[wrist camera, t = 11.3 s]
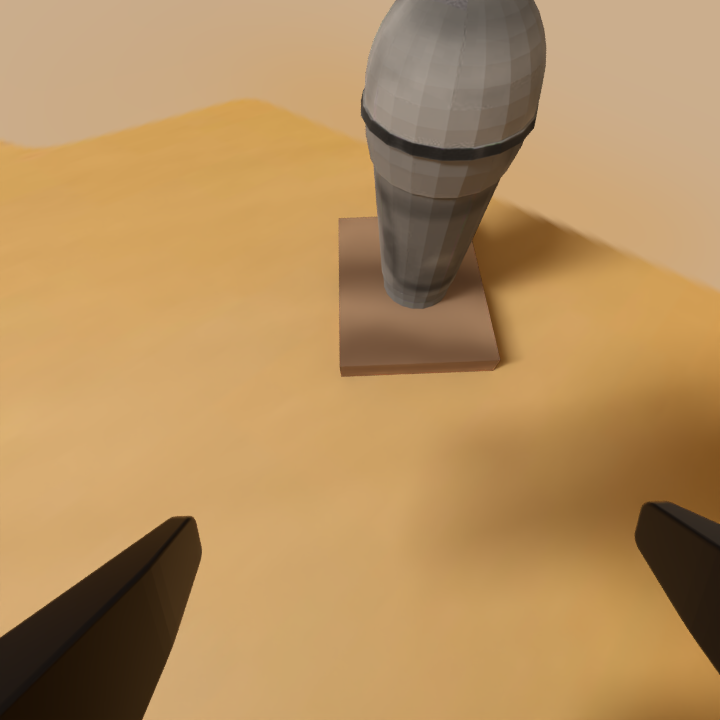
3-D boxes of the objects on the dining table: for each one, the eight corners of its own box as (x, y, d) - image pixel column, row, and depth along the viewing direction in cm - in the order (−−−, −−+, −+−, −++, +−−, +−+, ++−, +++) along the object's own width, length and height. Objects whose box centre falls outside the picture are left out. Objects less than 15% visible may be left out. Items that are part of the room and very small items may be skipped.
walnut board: (493, 370, 24) (500, 360, 22) (341, 376, 24) (339, 366, 22) (461, 227, 29) (465, 212, 28) (340, 232, 30) (338, 218, 28)
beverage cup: (391, 231, 27) (430, -345, 10) (483, 264, 26) (737, -360, 8) (345, 301, 25) (280, -335, 7) (445, 343, 23) (710, -356, 5)
